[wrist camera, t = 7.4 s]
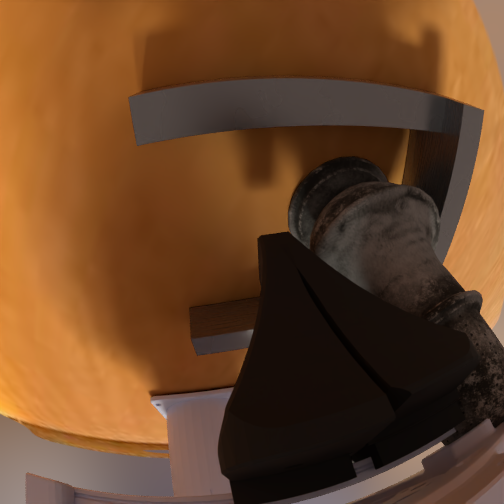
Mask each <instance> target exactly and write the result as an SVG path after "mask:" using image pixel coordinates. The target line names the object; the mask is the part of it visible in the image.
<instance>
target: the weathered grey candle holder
mask: <svg viewBox="0 0 504 504" xmlns="http://www.w3.org/2000/svg"><path fill="white" fill-rule="evenodd" d="M288 226H289V229H290V232H291V234H292V235H293V236H294V237H295V238H296V239H298V240H299V241H300V242H301V243H302V244H304V245H305V246H306V247H307V248H308V249H310V250H311V251H312V252H313V253H314V254H316V255H317V256H318V257H319V258H321V259H322V260H323V261H324V262H326V263H327V264H328V265H330V266H331V267H332V268H334V269H335V270H336V271H338V272H339V273H341V274H342V275H344V276H345V277H346V278H348V279H349V280H351V281H352V282H354V283H355V284H357V285H358V286H360V287H362V288H363V289H365V290H367V291H368V292H370V293H372V294H373V295H375V296H377V297H379V298H380V299H382V300H384V301H386V302H388V303H390V304H392V305H394V306H396V307H398V308H400V309H402V310H404V311H406V312H409V313H411V314H413V315H415V316H418V317H420V318H423V319H425V320H428V321H431V322H433V323H436V324H439V325H442V326H445V327H448V328H451V329H455V330H458V331H461V332H464V333H466V334H467V336H468V337H469V339H470V340H471V342H472V343H473V345H474V346H475V348H476V349H477V351H478V353H479V354H480V356H481V357H480V362H479V364H478V365H477V367H476V368H475V369H474V370H473V372H472V373H471V374H470V375H469V376H468V377H467V378H466V379H465V380H464V381H463V382H462V383H461V384H460V385H459V386H458V387H457V390H458V392H459V394H460V398H459V399H458V400H457V403H458V405H459V407H460V409H461V411H462V413H463V415H464V417H465V420H464V421H463V422H461V423H460V424H458V425H457V426H456V427H454V428H455V430H456V432H455V433H453V434H452V435H450V436H449V437H447V438H446V439H444V440H442V441H441V442H442V443H443V444H444V445H445V446H446V445H449V444H451V443H452V442H454V441H455V440H457V439H458V438H460V437H461V436H463V435H464V434H466V433H467V432H469V431H470V430H472V429H473V428H474V427H476V426H477V425H479V424H480V423H481V422H483V421H484V420H485V419H490V421H491V423H492V425H493V427H494V428H496V427H497V426H499V425H500V424H501V423H502V422H503V421H504V347H503V346H502V344H501V343H500V341H499V340H498V338H497V337H496V335H495V334H494V333H493V331H492V330H491V328H490V327H489V326H488V324H487V323H486V321H485V320H484V319H483V317H482V316H481V315H480V310H481V306H482V301H483V299H482V296H481V294H480V293H479V292H477V291H475V290H472V291H465V290H464V289H463V288H462V287H461V285H460V284H459V283H458V282H457V281H456V279H455V278H454V277H453V276H452V275H451V274H450V272H449V271H448V270H447V269H446V268H445V267H444V266H443V265H442V263H441V262H440V261H439V260H438V258H437V256H436V254H435V249H436V246H437V243H438V240H439V233H440V218H439V212H438V208H437V206H436V205H435V203H434V201H433V199H432V198H431V197H430V196H429V195H428V194H426V193H425V192H424V191H422V190H421V189H420V188H417V187H413V186H409V185H406V184H402V185H398V184H394V183H390V182H388V181H387V178H386V176H385V175H384V173H383V172H382V171H381V170H380V168H379V167H377V166H376V165H374V164H373V163H371V162H370V161H368V160H366V159H362V158H358V157H340V158H337V159H334V160H331V161H328V162H325V163H324V164H322V165H321V166H319V167H318V168H316V169H315V170H313V171H312V172H311V173H310V174H309V175H308V176H307V177H306V178H305V179H304V180H303V181H302V182H301V183H300V185H299V187H298V189H297V190H296V192H295V194H294V196H293V197H292V200H291V204H290V208H289V212H288Z"/></svg>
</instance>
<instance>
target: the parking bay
mask: <svg viewBox="0 0 504 504" xmlns="http://www.w3.org/2000/svg"><path fill="white" fill-rule="evenodd" d="M129 103H130V109H131V116H132V122H133V127H134V133H135V138H136V143H137V146H139V145H144V144H149V143H154V142H159V141H164V140H170V139H175V138H181V137H188V136H194V135H201V134H208V133H216V132H224V131H233V130H243V129H254V128H267V127H283V126H310V125H351V126H377V127H393V128H405V129H411V132H410V140H409V147H408V154H407V160H406V166H405V172H404V177H403V183H402V184H406V185H409V186H413V187H417V188H420V189H421V190H422V191H424V192H425V193H426V194H428V195H429V196H430V197H431V198H432V199H433V201H434V203H435V205H436V206H437V208H438V212H439V218H440V233H439V240H438V243H437V246H436V249H435V254H436V256H437V258H438V260H439V261H440V262H441V263H442V264H443V262H444V260H445V257H446V255H447V252H448V249H449V247H450V244H451V242H452V239H453V236H454V233H455V231H456V228H457V225H458V222H459V219H460V216H461V213H462V209H463V206H464V203H465V200H466V196H467V193H468V189H469V185H470V182H471V178H472V174H473V169H474V165H475V161H476V156H477V151H478V146H479V141H480V135H481V129H482V123H483V115H484V110H482V109H479V108H477V107H474V106H472V105H469V104H466V103H464V102H461V101H458V100H455V99H452V98H449V97H446V96H443V95H440V94H436V93H432V92H428V91H424V90H419V89H414V88H409V87H404V86H399V85H393V84H387V83H380V82H373V81H366V80H357V79H347V78H335V77H319V76H254V77H237V78H225V79H215V80H206V81H198V82H191V83H184V84H178V85H172V86H166V87H161V88H156V89H151V90H146V91H141V92H139V93H137V94H135V95H132V96H130V97H129ZM259 301H260V297H256V298H250V299H244V300H238V301H232V302H226V303H220V304H213V305H207V306H200V307H193V308H189V313H190V331H191V340H192V343H193V346H194V349H195V351H196V354H197V356H198V355H205V354H212V353H219V352H225V351H232V350H238V349H243V348H249V345H250V341H251V338H252V334H253V330H254V326H255V322H256V317H257V312H258V307H259Z"/></svg>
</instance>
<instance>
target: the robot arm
mask: <svg viewBox="0 0 504 504" xmlns="http://www.w3.org/2000/svg"><path fill="white" fill-rule="evenodd" d="M258 260H259V279H260V283H261V294H260V301H259V307H258V312H257V317H256V322H255V326H254V330H253V334H252V338H251V341H250V345H249V348H248V351H247V354H246V357H245V360H244V363H243V365H242V368H241V371H240V374H239V377H238V379H237V382H236V384H235V386H234V387H231V388H225V389H218V390H211V391H203V392H195V393H186V394H175V395H163V396H153V397H151V403H152V404H153V405H154V406H155V408H156V409H157V410H158V411H159V412H160V413H161V414H162V415H163V416H164V417H165V418H166V420H167V430H168V444H169V455H170V465H171V474H172V483H173V490H174V497H154V496H134V495H122V494H114V493H106V492H99V491H92V490H86V489H81V488H76V487H72V486H71V485H68V484H65V483H62V482H59V481H55V480H51V479H48V478H44V477H41V476H37V475H34V474H30V473H26V504H291V503H295V502H299V501H303V500H307V499H311V498H314V497H318V496H321V495H324V494H327V493H331V492H334V491H337V490H340V489H343V488H346V487H348V486H351V485H354V484H356V483H359V482H361V481H364V480H366V479H369V478H371V477H374V476H376V475H378V474H380V473H383V472H385V471H387V470H389V469H391V468H393V467H396V466H398V465H400V464H402V463H403V462H405V461H407V460H409V459H411V458H413V457H415V456H417V455H419V454H421V453H422V452H424V451H426V450H427V449H429V448H431V447H432V446H434V445H436V444H438V443H439V442H441V441H442V440H444V439H446V438H447V437H449V436H450V435H452V434H453V433H455V432H456V430H455V428H454V427H456V426H457V425H458V424H460V423H461V422H463V421H464V420H465V417H464V415H463V413H462V411H461V409H460V407H459V405H458V403H457V400H458V399H459V398H460V394H459V392H458V390H457V387H458V386H459V385H460V384H461V383H462V382H463V381H464V380H465V379H466V378H467V377H468V376H469V375H470V374H471V373H472V372H473V370H474V369H475V368H476V367H477V365H478V364H479V362H480V357H481V356H480V354H479V353H478V351H477V349H476V348H475V346H474V345H473V343H472V342H471V340H470V339H469V337H468V336H467V334H466V333H464V332H461V331H458V330H455V329H451V328H448V327H445V326H442V325H439V324H436V323H433V322H431V321H428V320H425V319H423V318H420V317H418V316H415V315H413V314H411V313H409V312H406V311H404V310H402V309H400V308H398V307H396V306H394V305H392V304H390V303H388V302H386V301H384V300H382V299H380V298H379V297H377V296H375V295H373V294H372V293H370V292H368V291H367V290H365V289H363V288H362V287H360V286H358V285H357V284H355V283H354V282H352V281H351V280H349V279H348V278H346V277H345V276H344V275H342V274H341V273H339V272H338V271H336V270H335V269H334V268H332V267H331V266H330V265H328V264H327V263H326V262H324V261H323V260H322V259H321V258H319V257H318V256H317V255H316V254H314V253H313V252H312V251H311V250H310V249H308V248H307V247H306V246H305V245H304V244H302V243H301V242H300V241H299V240H298V239H296V238H295V237H294V236H293V235H292V234H290V233H289V232H281V233H275V234H268V235H261V236H260V237H259V238H258ZM422 464H423V467H424V469H423V470H422V471H420V472H418V473H416V474H414V475H412V476H410V477H408V478H406V479H404V480H402V481H400V482H398V483H396V484H394V485H391V486H389V487H387V488H385V489H382V490H380V491H378V492H375V493H373V494H370V495H368V496H366V497H363V498H360V499H358V500H355V501H352V502H350V503H347V504H504V421H503V422H502V423H501V424H500V425H499V426H497V427H496V428H494V427H493V425H492V423H491V421H490V419H485V420H484V421H483V422H481V423H480V424H479V425H477V426H476V427H474V428H473V429H472V430H470V431H469V432H467V433H466V434H464V435H463V436H461V437H460V438H458V439H457V440H455V441H454V442H452V443H451V444H449V445H446V446H443V447H442V448H440V449H438V450H437V451H435V452H433V453H432V454H430V455H429V456H427V457H426V458H424V459H423V460H422Z"/></svg>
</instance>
